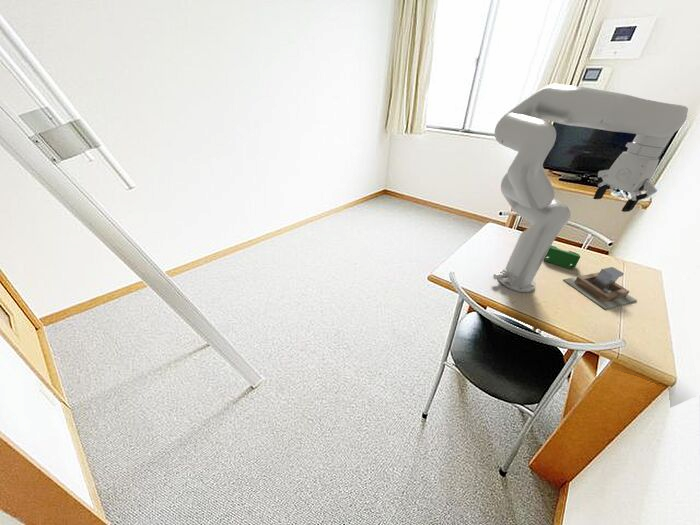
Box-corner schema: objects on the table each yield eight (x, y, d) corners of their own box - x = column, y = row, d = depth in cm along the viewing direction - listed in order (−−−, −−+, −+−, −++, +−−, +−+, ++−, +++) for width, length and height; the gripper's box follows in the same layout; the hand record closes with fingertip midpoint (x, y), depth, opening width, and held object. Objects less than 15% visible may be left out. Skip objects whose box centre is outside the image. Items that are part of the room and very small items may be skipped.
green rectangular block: (562, 271, 125) (582, 256, 120) (563, 275, 120) (584, 260, 115) (538, 252, 128) (556, 236, 123) (538, 255, 123) (557, 239, 118)
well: (604, 309, 100) (609, 302, 98) (562, 280, 112) (566, 273, 110) (636, 301, 105) (641, 294, 103) (593, 274, 117) (597, 267, 115)
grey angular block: (600, 293, 106) (613, 275, 101) (589, 286, 109) (601, 269, 104) (610, 291, 108) (624, 273, 103) (600, 284, 111) (612, 266, 106)
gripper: (607, 143, 94) (579, 194, 104) (668, 159, 81) (629, 217, 91) (623, 143, 96) (594, 194, 106) (686, 159, 83) (646, 216, 93)
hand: (610, 204), depth 98 cm, fingers open, 9 cm apart
